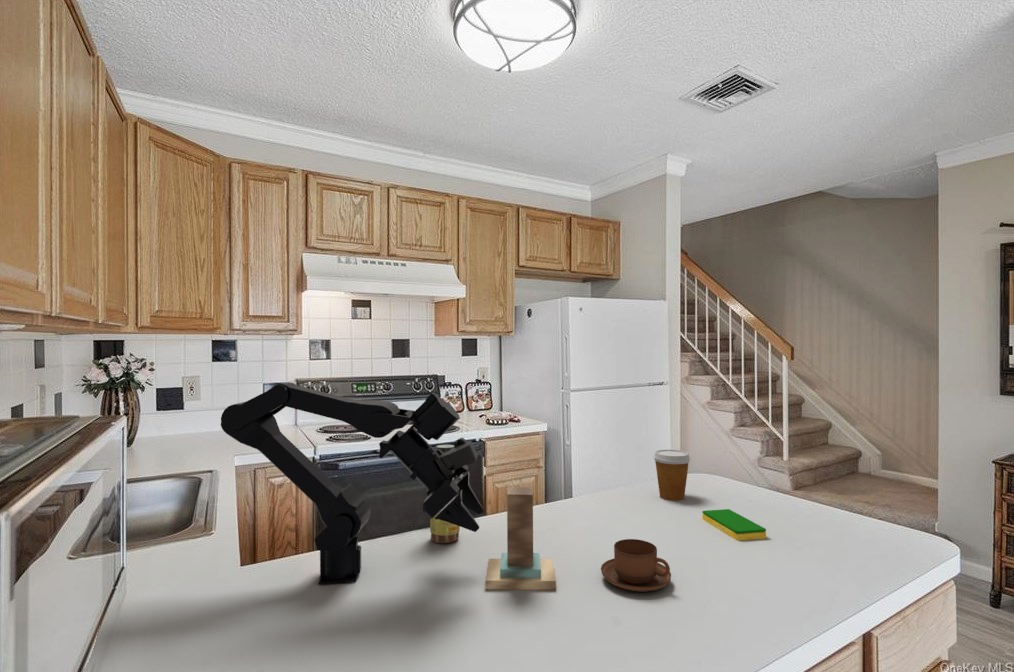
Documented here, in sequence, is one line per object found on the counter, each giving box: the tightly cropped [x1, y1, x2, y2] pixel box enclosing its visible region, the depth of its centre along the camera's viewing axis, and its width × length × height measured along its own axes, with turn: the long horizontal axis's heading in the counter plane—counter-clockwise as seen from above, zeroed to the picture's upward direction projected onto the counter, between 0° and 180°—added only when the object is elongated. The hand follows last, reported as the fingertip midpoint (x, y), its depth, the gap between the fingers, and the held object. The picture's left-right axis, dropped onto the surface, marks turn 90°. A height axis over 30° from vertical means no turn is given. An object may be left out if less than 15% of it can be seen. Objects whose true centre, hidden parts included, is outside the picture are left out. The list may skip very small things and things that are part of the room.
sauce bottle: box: [429, 444, 461, 544], centre depth 113 cm, size 6×6×20 cm
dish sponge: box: [701, 508, 767, 541], centre depth 119 cm, size 7×14×2 cm, turn 10°
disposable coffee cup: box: [653, 448, 691, 502], centre depth 142 cm, size 10×10×12 cm
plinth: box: [484, 552, 557, 591], centre depth 94 cm, size 12×9×3 cm
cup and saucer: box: [600, 538, 672, 593], centre depth 93 cm, size 12×12×6 cm
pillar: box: [506, 486, 534, 566], centre depth 94 cm, size 4×4×12 cm
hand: (479, 520), depth 95 cm, fingers open, 9 cm apart
